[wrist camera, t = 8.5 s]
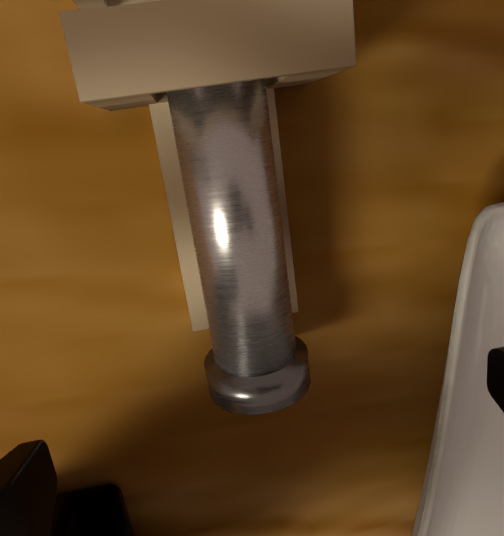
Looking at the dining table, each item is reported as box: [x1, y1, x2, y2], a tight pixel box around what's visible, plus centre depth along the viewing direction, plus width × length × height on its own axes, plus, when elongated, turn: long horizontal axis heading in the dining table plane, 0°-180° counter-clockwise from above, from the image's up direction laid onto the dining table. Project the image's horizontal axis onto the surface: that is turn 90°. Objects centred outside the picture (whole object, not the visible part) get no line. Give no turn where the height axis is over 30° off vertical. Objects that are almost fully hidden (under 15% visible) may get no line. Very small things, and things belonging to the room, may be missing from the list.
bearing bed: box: [59, 0, 356, 332], centre depth 13 cm, size 20×7×5 cm, turn 8°
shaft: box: [166, 79, 311, 415], centre depth 15 cm, size 12×4×4 cm, turn 8°
